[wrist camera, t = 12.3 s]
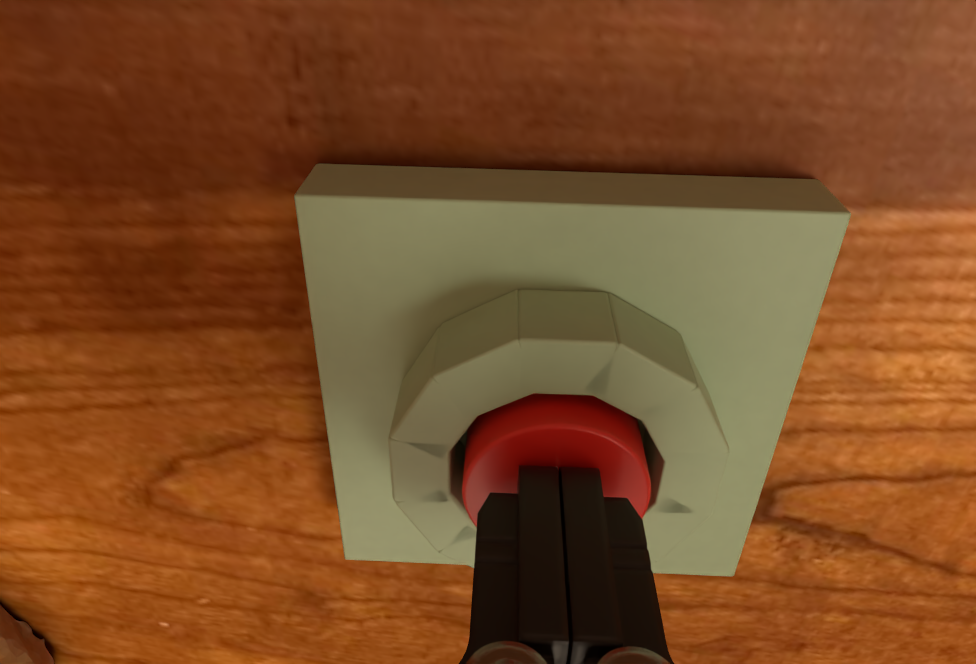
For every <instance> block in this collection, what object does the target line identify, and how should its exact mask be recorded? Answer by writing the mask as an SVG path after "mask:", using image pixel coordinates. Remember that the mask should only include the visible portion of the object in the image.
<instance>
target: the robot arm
mask: <svg viewBox="0 0 976 664" xmlns="http://www.w3.org/2000/svg"><path fill="white" fill-rule="evenodd" d="M459 664H674V663H673V661H672V659H671V657H670V655H669V652H668V648H667V645H666V640H665V634H664V629H663V624H662V619H661V614H660V608H659V603H658V598H657V593H656V588H655V582H654V577H653V572H652V570H651V561H650V556H649V551H648V550H647V541H646V535H645V530H644V525H643V520H642V518H641V517H640V516H639V514H638V513H637V511H636V510H635V508H634V507H633V506H632V504H631V503H630V501H629V500H628V498H622V497H603V490H602V483H601V476H600V471H599V468H585V467H559V473H558V469H557V467H555V466H530V465H519V469H518V485H517V493H494V492H490V494H489V495H488V497H487V499H486V500H485V502H484V504H483V505H482V507H481V509H480V510H479V512H478V515H477V530H476V546H475V563H474V577H473V592H472V608H471V623H470V637H469V644H468V647H467V650H466V652H465V654H464V656H463V658H462V660H461V661H460V663H459Z"/></svg>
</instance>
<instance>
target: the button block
mask: <svg viewBox="0 0 976 664" xmlns="http://www.w3.org/2000/svg"><path fill="white" fill-rule="evenodd" d="M294 199H295V206H296V213H297V220H298V228H299V235H300V242H301V249H302V256H303V263H304V270H305V278H306V285H307V292H308V299H309V306H310V313H311V320H312V328H313V335H314V342H315V349H316V356H317V363H318V370H319V377H320V385H321V392H322V399H323V406H324V413H325V420H326V427H327V435H328V442H329V449H330V456H331V463H332V470H333V477H334V485H335V492H336V499H337V506H338V513H339V520H340V527H341V534H342V542H343V549H344V556H345V559H347V560H370V561H393V562H415V563H438V564H461V565H468V566H470V567H473V568H474V563H475V546H476V530H477V527H476V526H475V525H474V523H473V522H472V520H471V519H470V517H469V515H468V513H467V511H466V509H465V506H464V502H463V498H462V483H463V472H464V462H465V451H466V441H467V430H468V428H469V426H470V425H471V424H472V423H473V421H474V420H475V419H476V418H477V416H479V415H481V414H484V413H486V412H489V411H491V410H494V409H496V408H498V407H501V406H503V405H506V404H508V403H511V402H513V401H516V400H518V399H521V398H523V397H526V396H528V395H531V394H533V393H538V394H564V395H590V396H595V397H597V398H599V399H601V400H602V401H604V402H606V403H608V404H610V405H612V406H614V407H616V408H618V409H620V410H622V411H624V412H625V413H627V414H629V415H631V416H633V417H635V418H637V421H638V425H639V429H640V434H641V438H642V443H643V447H644V452H645V457H646V461H647V466H648V471H649V475H650V480H651V497H650V501H649V504H648V508H647V510H646V512H645V514H644V516H643V518H642V520H643V525H644V530H645V535H646V541H647V550H648V551H649V556H650V561H651V570H652V572H653V573H666V574H689V575H711V576H734V574H735V570H736V567H737V564H738V561H739V558H740V555H741V552H742V549H743V546H744V543H745V540H746V537H747V533H748V530H749V527H750V524H751V521H752V518H753V515H754V512H755V509H756V506H757V503H758V500H759V497H760V493H761V490H762V487H763V484H764V481H765V478H766V475H767V472H768V469H769V466H770V463H771V460H772V456H773V453H774V450H775V447H776V444H777V441H778V438H779V435H780V432H781V429H782V426H783V423H784V420H785V416H786V413H787V410H788V407H789V404H790V401H791V398H792V395H793V392H794V389H795V386H796V383H797V379H798V376H799V373H800V370H801V367H802V364H803V361H804V358H805V355H806V352H807V349H808V346H809V343H810V339H811V336H812V333H813V330H814V327H815V324H816V321H817V318H818V315H819V312H820V309H821V306H822V302H823V299H824V296H825V293H826V290H827V287H828V284H829V281H830V278H831V275H832V272H833V269H834V266H835V262H836V259H837V256H838V253H839V250H840V247H841V244H842V241H843V238H844V235H845V232H846V229H847V226H848V222H849V219H850V216H851V213H850V212H849V211H848V210H847V209H846V208H845V206H844V205H843V204H842V203H841V202H840V201H839V200H838V199H837V198H836V197H835V196H834V195H833V194H832V193H831V192H830V191H829V190H828V189H827V188H826V187H825V186H824V185H823V184H822V183H821V182H820V181H819V180H817V179H791V178H759V177H728V176H696V175H664V174H633V173H601V172H570V171H538V170H506V169H475V168H443V167H412V166H380V165H348V164H316V165H315V166H314V168H313V169H312V171H311V172H310V174H309V175H308V176H307V178H306V179H305V181H304V182H303V184H302V185H301V186H300V188H299V189H298V191H297V192H296V193H295V196H294Z"/></svg>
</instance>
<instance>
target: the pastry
mask: <svg viewBox="0 0 976 664" xmlns="http://www.w3.org/2000/svg"><path fill="white" fill-rule="evenodd" d="M44 640H45V639H41V640H40V639H38V638H37V637H35V636H34V635H33V634H32V629H31V627H30V626H29V625H28V624H27V623H26V622H24V621H17V620H15V619H14V618H13V617H12V616H11V615H10V614H9V613H8V612H7V611H6V610H5V609H4V608H3V607H2V606H1V604H0V664H55V663H54V660H53V658H52V656H51V655H50V653H49V652H48V651H47V649H46V647H45V644H44Z"/></svg>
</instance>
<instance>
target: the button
mask: <svg viewBox="0 0 976 664" xmlns="http://www.w3.org/2000/svg"><path fill="white" fill-rule="evenodd" d="M519 465H530V466H555V467H557V469H558V473H559V467H585V468H599V471H600V476H601V483H602V490H603V497H622V498H628V500H629V501H630V503H631V504H632V506H633V507H634V508H635V510H636V511H637V513H638V514H639V516H640V517H641V518H643V516H644V514H645V512H646V510H647V508H648V504H649V501H650V497H651V480H650V475H649V471H648V466H647V461H646V457H645V452H644V447H643V443H642V438H641V434H640V429H639V425H638V421H637V418H635V417H633V416H631V415H629V414H627V413H625V412H624V411H622V410H620V409H618V408H616V407H614V406H612V405H610V404H608V403H606V402H604V401H602V400H601V399H599V398H597V397H595V396H590V395H564V394H538V393H533V394H531V395H528V396H526V397H523V398H521V399H518V400H516V401H513V402H511V403H508V404H506V405H503V406H501V407H498V408H496V409H494V410H491V411H489V412H486V413H484V414H481V415H479V416H477V418H476V419H475V420H474V421H473V423H472V424H471V425H470V426H469V428H468V430H467V441H466V451H465V462H464V472H463V483H462V498H463V502H464V506H465V509H466V511H467V513H468V515H469V517H470V519H471V520H472V522H473V523H474V525H475V526H476V527H477V515H478V512H479V510H480V509H481V507H482V505H483V504H484V502H485V500H486V499H487V497H488V495H489V494H490V492H494V493H517V485H518V469H519Z"/></svg>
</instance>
